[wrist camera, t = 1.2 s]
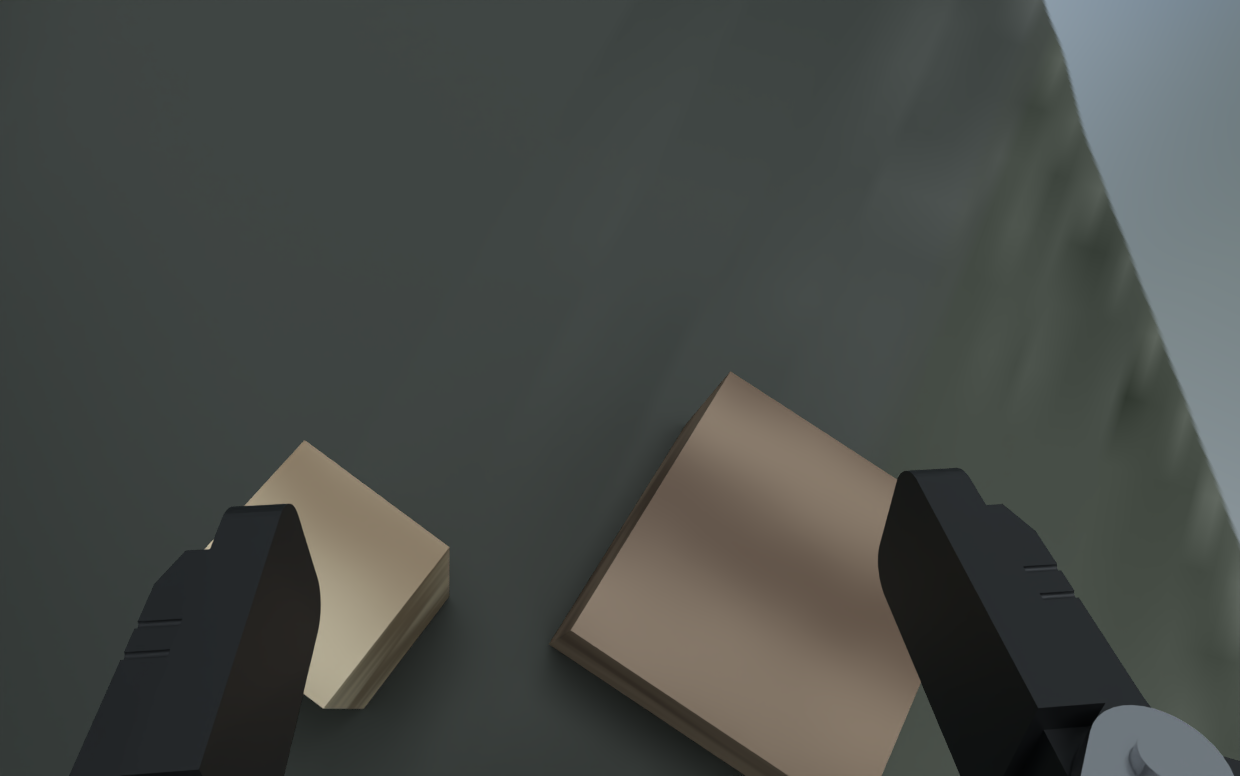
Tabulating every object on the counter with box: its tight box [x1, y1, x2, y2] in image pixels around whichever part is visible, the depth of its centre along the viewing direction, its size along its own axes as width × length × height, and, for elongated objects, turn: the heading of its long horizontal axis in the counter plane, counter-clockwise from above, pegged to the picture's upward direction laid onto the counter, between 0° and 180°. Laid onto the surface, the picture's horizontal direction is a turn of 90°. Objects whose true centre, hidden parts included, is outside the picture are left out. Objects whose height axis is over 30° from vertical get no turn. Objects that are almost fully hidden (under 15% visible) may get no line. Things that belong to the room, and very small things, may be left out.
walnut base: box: [549, 371, 921, 776], centre depth 30 cm, size 10×10×6 cm
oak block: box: [204, 440, 449, 709], centre depth 25 cm, size 4×4×10 cm
